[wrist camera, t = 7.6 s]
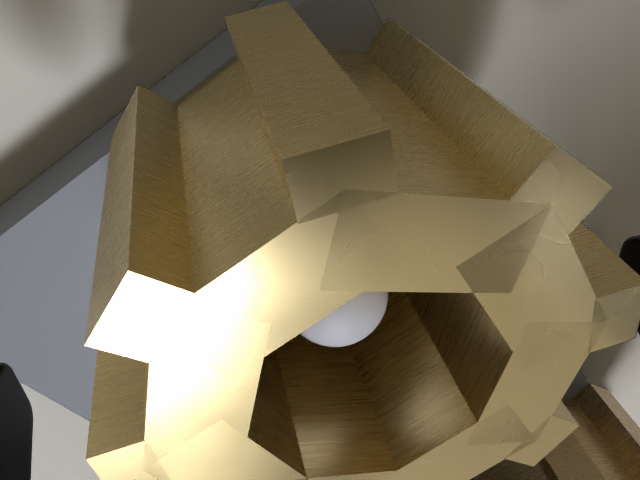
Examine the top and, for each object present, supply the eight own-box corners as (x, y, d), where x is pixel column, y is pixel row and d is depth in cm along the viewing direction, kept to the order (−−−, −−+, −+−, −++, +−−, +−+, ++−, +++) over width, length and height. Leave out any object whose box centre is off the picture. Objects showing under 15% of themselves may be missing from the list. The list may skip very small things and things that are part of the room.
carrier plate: (597, 412, 21) (710, 558, 17) (367, 546, 23) (417, 711, 18) (327, -50, 10) (449, 32, 6) (-76, 265, 12) (-200, 504, 8)
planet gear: (519, 39, 10) (747, 166, 6) (411, 327, 14) (515, 524, 10) (114, -29, 8) (80, 95, 4) (108, 329, 12) (87, 578, 8)
